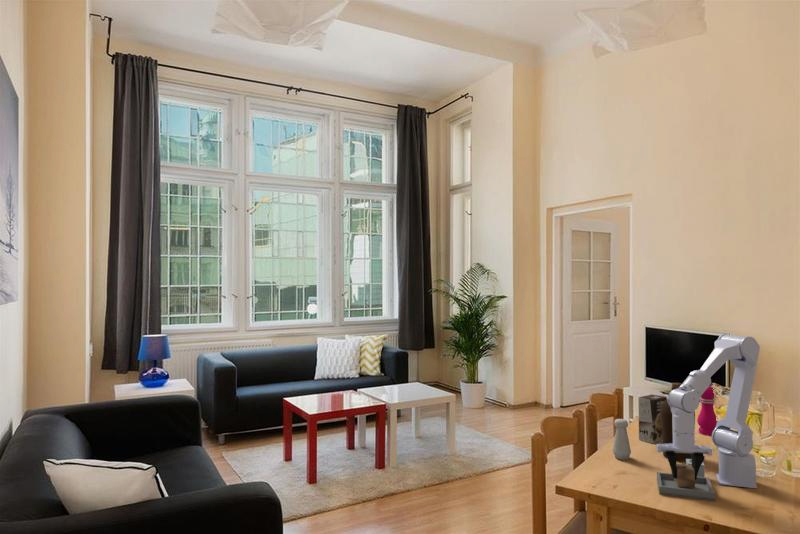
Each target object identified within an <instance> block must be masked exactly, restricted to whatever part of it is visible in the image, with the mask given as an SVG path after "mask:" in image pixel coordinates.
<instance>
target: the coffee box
mask: <svg viewBox="0 0 800 534" xmlns="http://www.w3.org/2000/svg"><path fill="white" fill-rule="evenodd" d="M667 398H668V396H664V395H658V394H648V395H642V396H638V440H639V441H643V442H646V443H650V444H658V443H660V442H662V427H661V414H660V409H661V406H662V403H663V402H664V401H665V400H666V399H667Z"/></svg>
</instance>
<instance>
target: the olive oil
mask: <svg viewBox="0 0 800 534" xmlns="http://www.w3.org/2000/svg"><path fill="white" fill-rule="evenodd" d="M681 384H682V383H681V382H672V383H671V391H672V390H674V389H678V388H679V387H680V386H681ZM695 411H696V410H695ZM695 411H694V433H696V432H695V428H696V427H695V425H696V412H695ZM660 414H661V427H662V441H661V442H662V444H670V443H673V427H672V412H671V408H670V405H669V404H668V402H667V399H666V400H665V401H664V402H663V403H662V406H661V409H660ZM662 456H663V457H665V458H666V459H667V457H666V455H665V453H664V452H662ZM675 456H676V457H677V461H676V462H686V459H691V453H675Z"/></svg>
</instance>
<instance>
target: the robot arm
mask: <svg viewBox="0 0 800 534" xmlns="http://www.w3.org/2000/svg"><path fill="white" fill-rule="evenodd" d="M760 350H761V346H760V344H759V342H757V340H756V339H755V337H753V336H750V335H749V336H745V335H738V334H730V333H722V334H720V335H719V336H718V338H717V339H716V340H715V341H714V348H713V350H712V351H711V353H710V354H709V356H708V358H706V360H705V361H704V363H703V365H702V366H701V367H700V369H698V370H697V369H696V370H693V371H690V373H689V375H688V376H687V377H686V379H684V381H683V382H682V383H681V386H680V387H679V388H678V389H674V390H672V389H671V391H670V392H669V394H668V396H667V402H668V404H669V405H670V408H671V412H672V427H673V443H670V444H663V443H655V444H656V445H655V447H656V448H655V450H656V452H657V453H663V452H664V453H665V455H666V457H667V458H666V457H665V458H666V459H667V461H668V464H669V466H670V470H671V474H672V476H673V478H677V472H676V464H677V462H678V461H677V457H676V456H675V453H691V459H692V467H693V469H694V470H695V480H696V479H697V474H698V471H699V468H700V466H701V464H702V463H704V461H705V456H704V455H708V456H713V448H712V447H711V446H705V445H699V444H695V443H696V441H695V440H696V439H695V438H696V437H695V433H696V432H694V411H696V410H697V409H698V408H699V405H700V399H701V395H702V394H703V393H704V391H705V390H706V389H707V388H708V387H709V386H711V385H712V379H711V377H712V376H713V375H714V374H716V372H717V371H718V370H719V369H721V367H722V366H723V365H725V364H726V362H727V361H731V363H732V364H733V366H734V371H733V377H732V381H731V385H730V386H731V387H730V390H729V396H728V400H727V406H726V410H725V416H724V417H723V418H721V419H718V421H717V425H716V427H715V429H714V431H713V433H712V436H711V441H712V443H713V445H715V446H716V447H715V448H716V450H717V451H718V452H717V453H718V473H716V474H715V477H716V479H717V481H718V484H719V485H721V486H722V485H723V486H731V487H740V488H747V489H748V488H749V489H757V488H758V487H757V465H756V458H755V455H754V454H752V453H751V452H752V450H753V447H754V442H753V433H754V432H753V430H752V428H750V426H749V425H748V424H747V419H748V413H749V408H750V403H751V399H752V394H753V389H754V388H753V387H754V383H755V378H756V372H757V368H758V360H759V359H758V358H759V354H760Z"/></svg>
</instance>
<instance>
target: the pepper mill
mask: <svg viewBox="0 0 800 534" xmlns="http://www.w3.org/2000/svg"><path fill="white" fill-rule="evenodd" d="M713 388H714V387H713V386H711V385H709V387H708V388H707V389H706V390H705V391H704V393H703V394H702V395H701V399H700V401H699V403H701V409H700V411H699V414H698V416H697V420H696V422H697V424H698V426H699V427H698V433H699V434H700V435H703V436H709V437H710V436H711V437H712V433H713V431H714V429H715V427H716V425H717V421H716V417H717V415H716V413H715V410H714V404H715V403H714V401H715V400H714V399H715V397H714V393H713V390H714V389H715V388H714V389H713ZM712 389H713V390H712Z"/></svg>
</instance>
